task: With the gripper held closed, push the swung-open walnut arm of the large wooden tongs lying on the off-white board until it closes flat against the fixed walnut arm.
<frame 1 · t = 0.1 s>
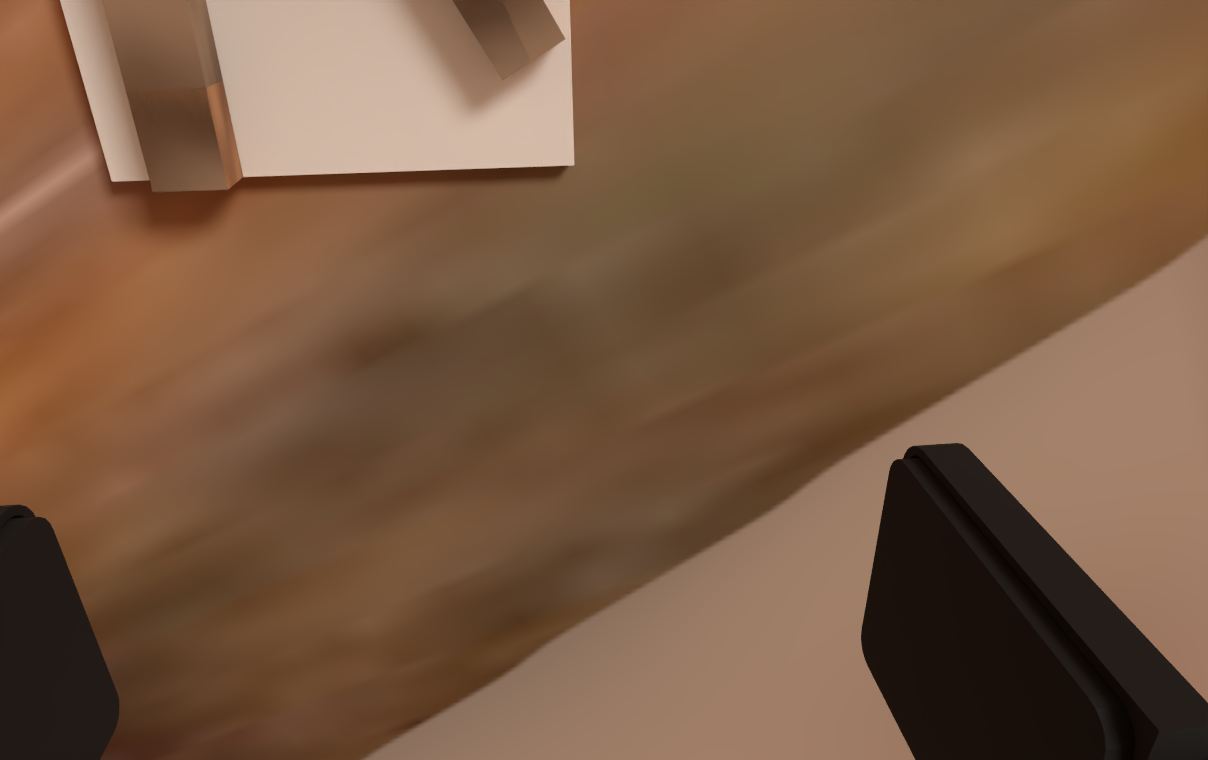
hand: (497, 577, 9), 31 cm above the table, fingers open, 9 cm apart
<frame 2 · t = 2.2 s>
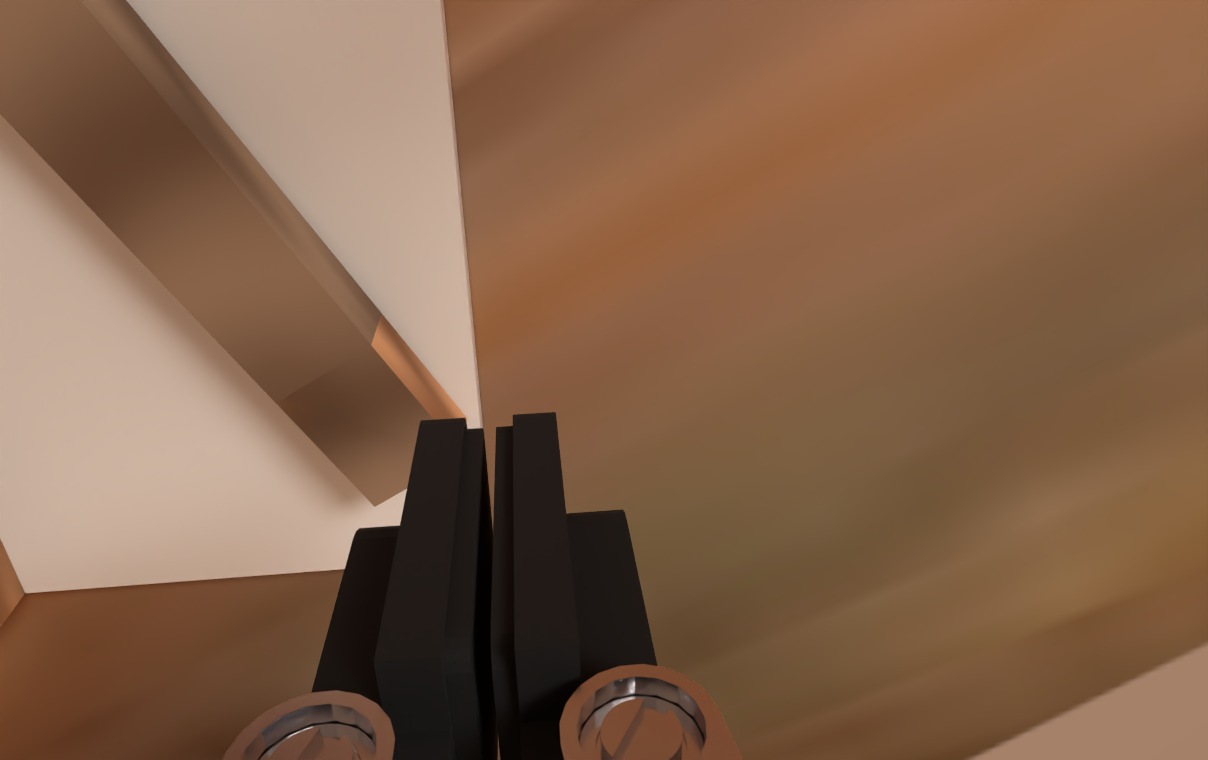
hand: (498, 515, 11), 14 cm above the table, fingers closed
board: (50, 141, 21), on the table
tongs arm: (126, 124, 19), point 2 cm above the table, hinge at 30.0°
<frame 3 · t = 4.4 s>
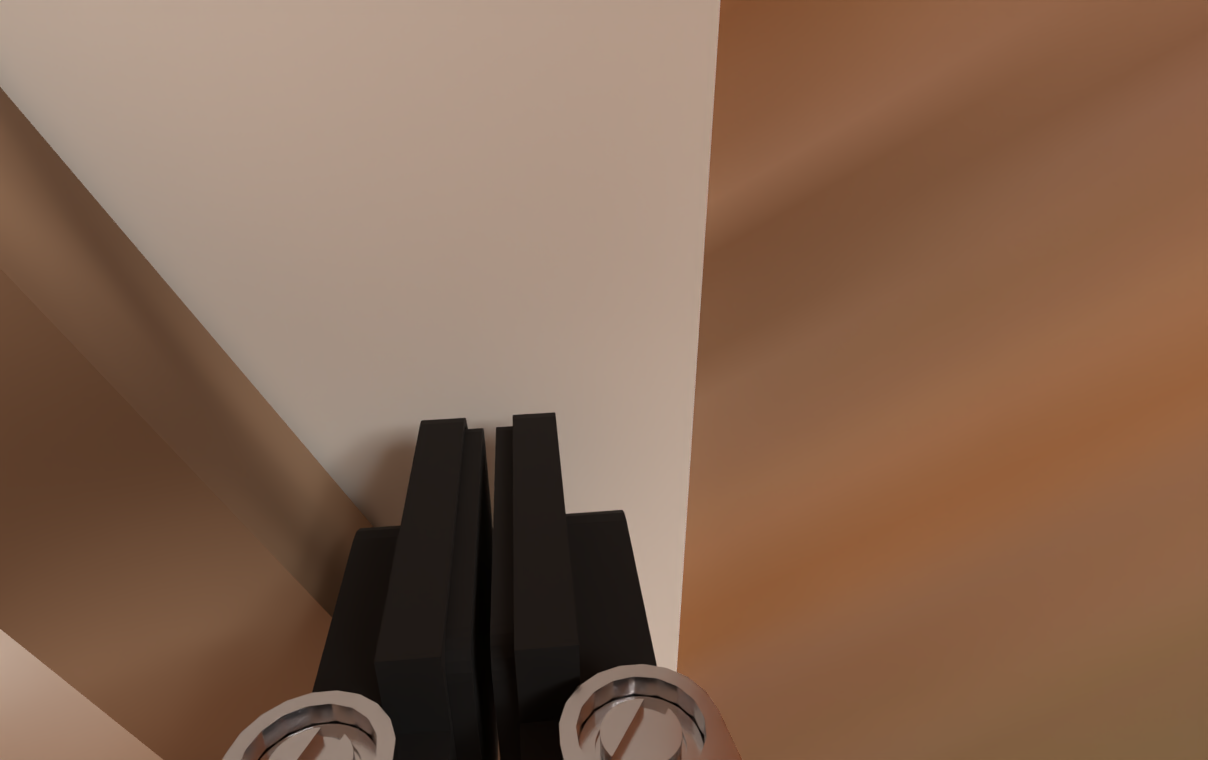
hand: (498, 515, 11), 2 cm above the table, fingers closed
tongs arm: (28, 395, 9), point 2 cm above the table, hinge at 27.7°
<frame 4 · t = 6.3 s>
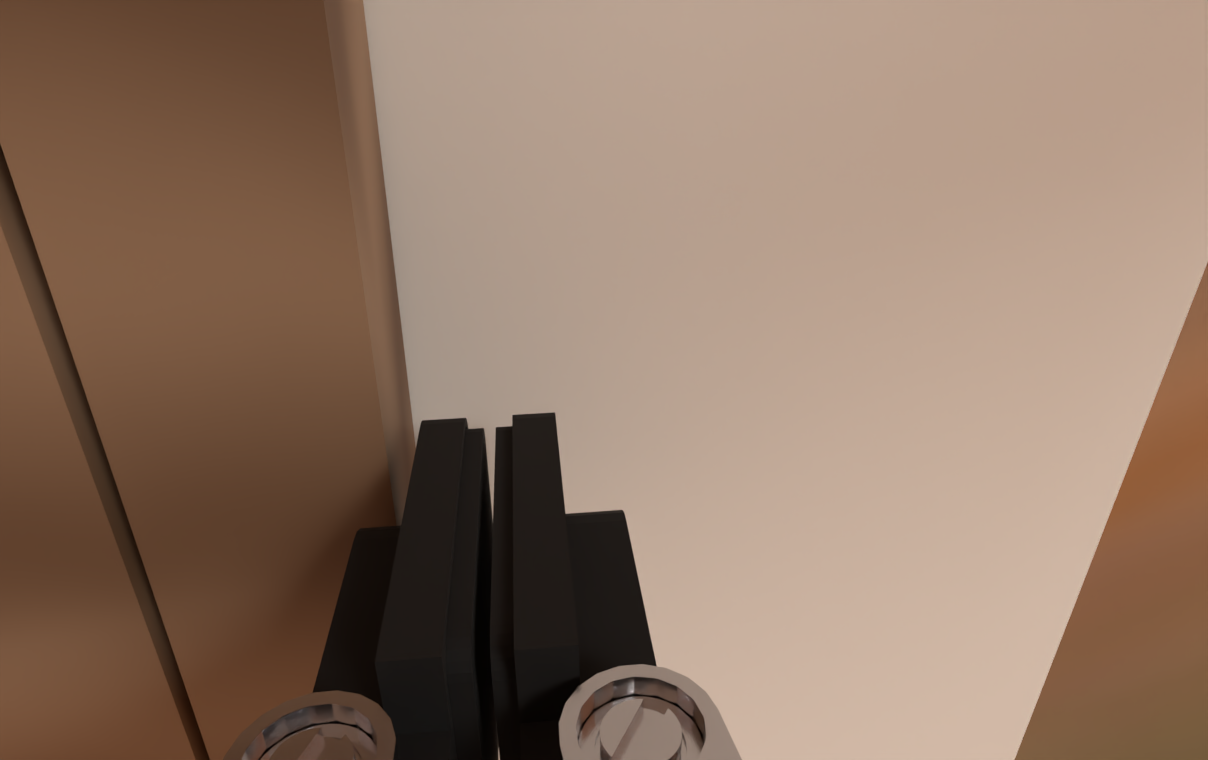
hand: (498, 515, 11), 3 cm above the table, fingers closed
board: (495, 205, 11), on the table
tongs arm: (282, 457, 10), point 2 cm above the table, hinge at -0.4°, touching gripper
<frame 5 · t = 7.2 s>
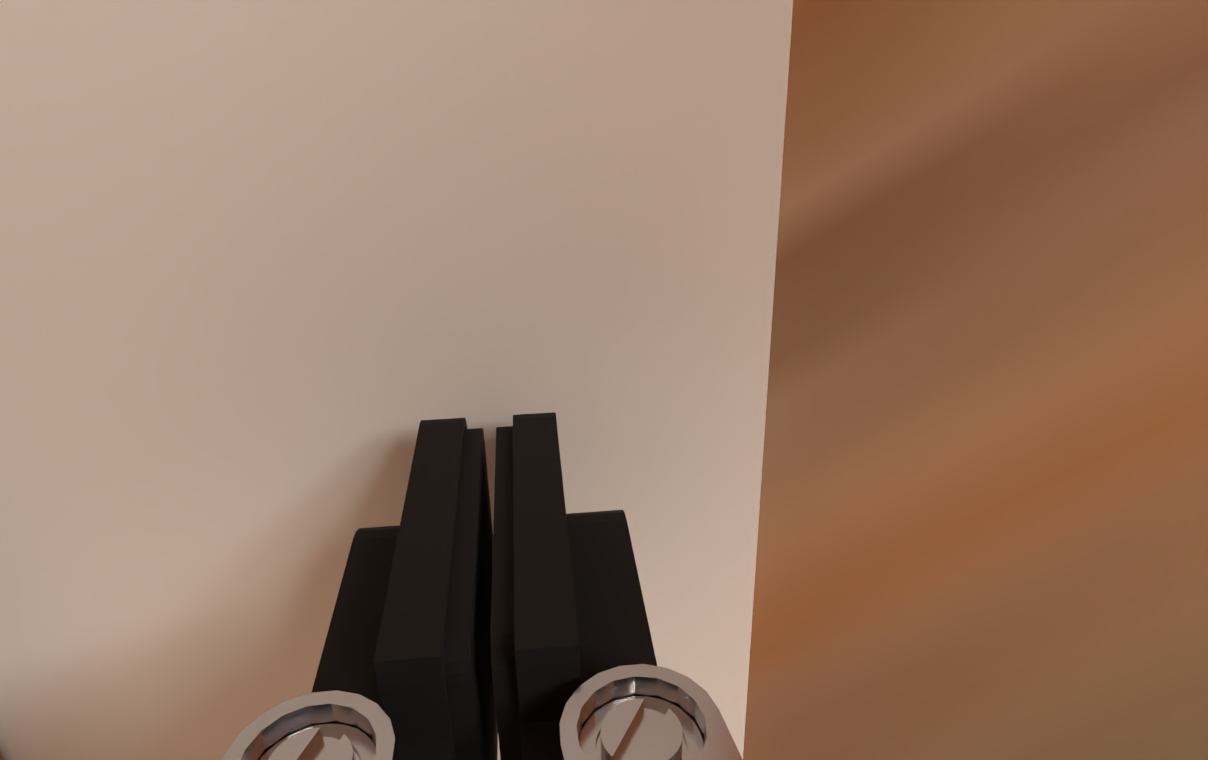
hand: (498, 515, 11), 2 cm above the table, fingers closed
board: (4, 388, 11), on the table
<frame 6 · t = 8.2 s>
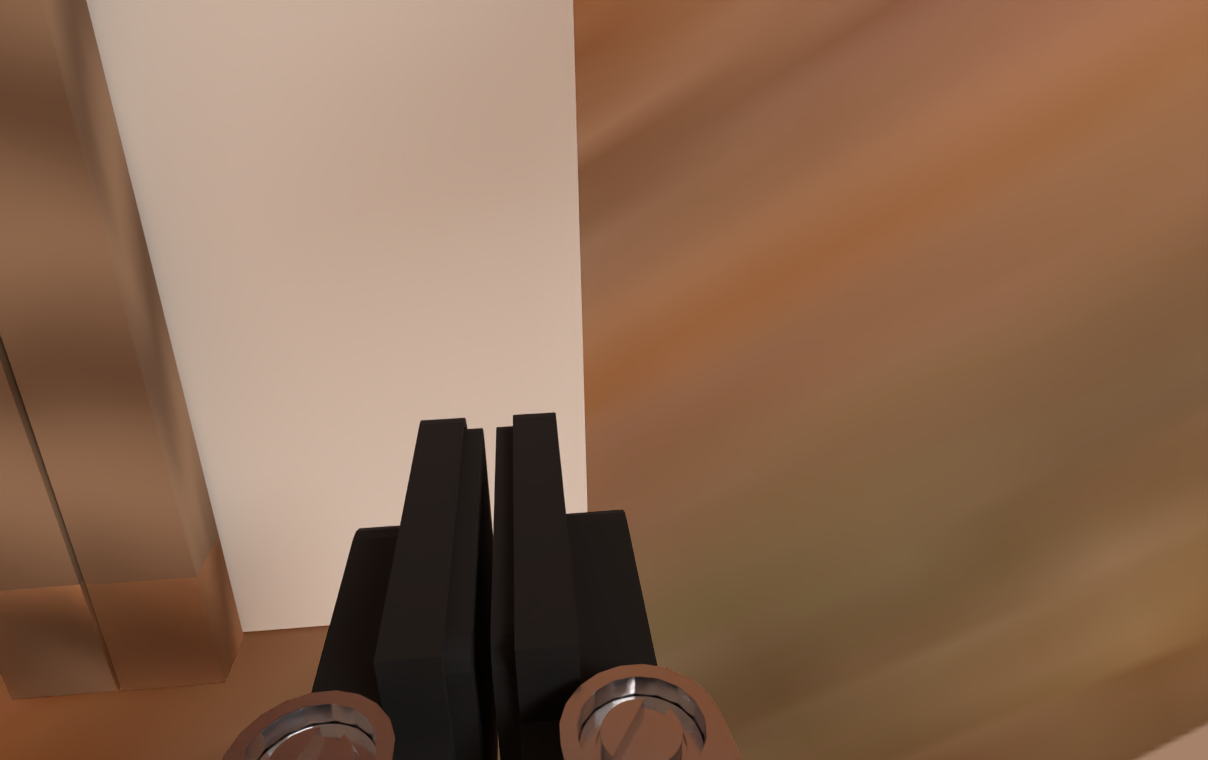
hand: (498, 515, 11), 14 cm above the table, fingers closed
board: (209, 216, 22), on the table
tongs arm: (90, 338, 21), point 2 cm above the table, hinge at -0.4°
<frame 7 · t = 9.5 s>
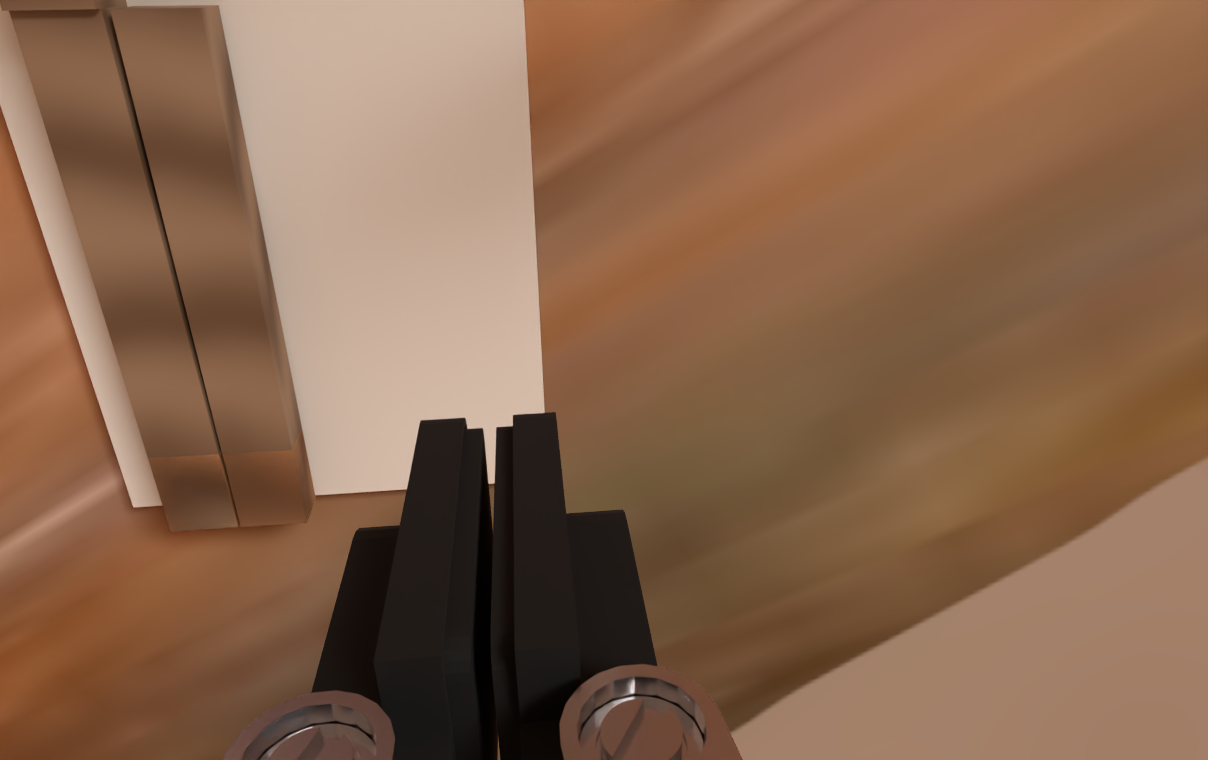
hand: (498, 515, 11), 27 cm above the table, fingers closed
board: (300, 219, 35), on the table
tongs arm: (230, 296, 34), point 2 cm above the table, hinge at -0.4°
tongs base: (132, 249, 33), on the board, point 2 cm above the table
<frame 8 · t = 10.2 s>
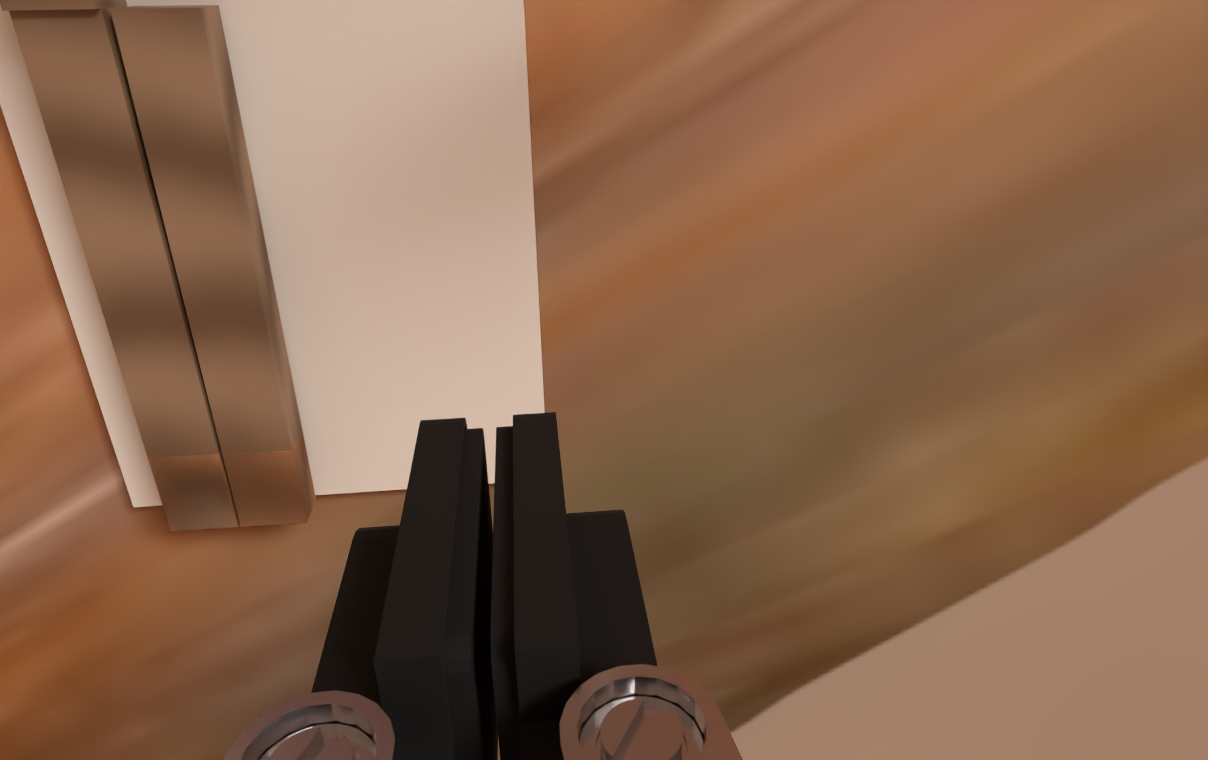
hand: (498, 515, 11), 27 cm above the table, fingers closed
board: (300, 219, 35), on the table
tongs arm: (230, 296, 34), point 2 cm above the table, hinge at -0.4°
tongs base: (132, 249, 33), on the board, point 2 cm above the table
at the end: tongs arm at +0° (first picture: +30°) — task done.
